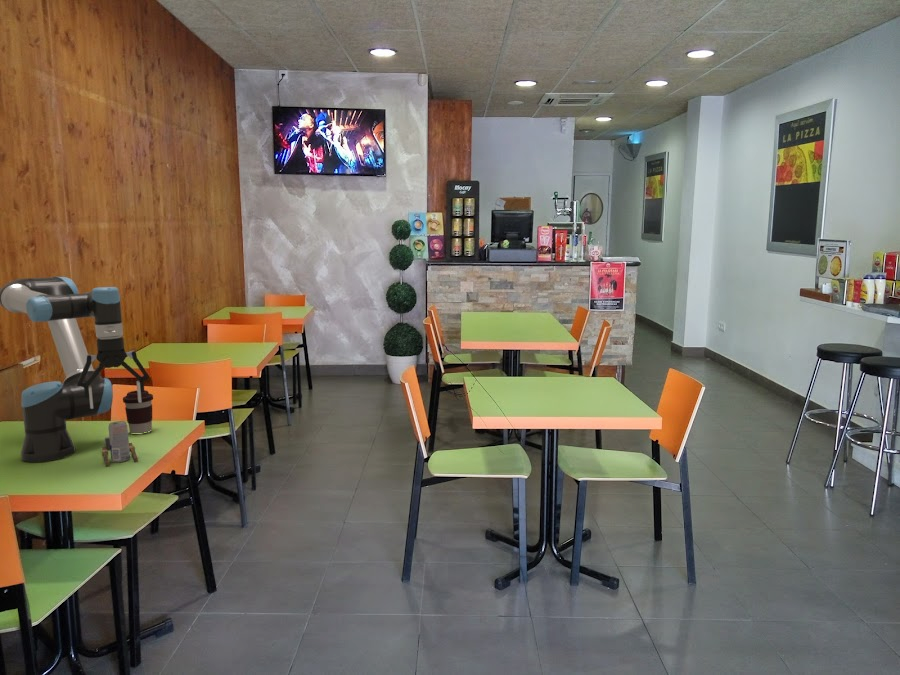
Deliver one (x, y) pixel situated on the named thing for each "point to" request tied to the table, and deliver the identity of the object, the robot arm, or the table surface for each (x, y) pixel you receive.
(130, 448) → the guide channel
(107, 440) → the stop block
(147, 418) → the coffee cup
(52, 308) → the robot arm
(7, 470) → the table surface
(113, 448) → the energy drink
